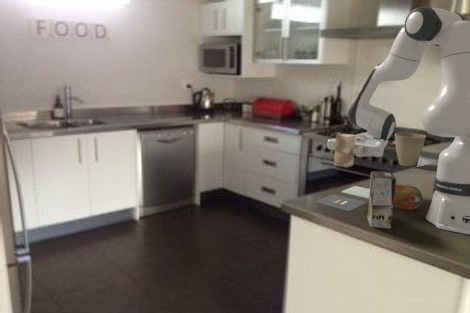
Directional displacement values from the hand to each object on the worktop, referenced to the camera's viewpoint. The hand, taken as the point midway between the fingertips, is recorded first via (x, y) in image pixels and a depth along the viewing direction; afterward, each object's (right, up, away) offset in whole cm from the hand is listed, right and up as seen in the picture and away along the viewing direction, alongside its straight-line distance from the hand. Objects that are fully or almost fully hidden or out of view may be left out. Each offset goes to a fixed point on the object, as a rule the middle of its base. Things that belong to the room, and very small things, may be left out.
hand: (344, 149), depth 147 cm
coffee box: (+7, -24, -15) cm, 29 cm away
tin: (+20, -21, +1) cm, 29 cm away
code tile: (0, -19, +4) cm, 20 cm away
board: (+12, -17, +16) cm, 26 cm away
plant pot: (+51, -7, +69) cm, 86 cm away
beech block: (0, -6, +2) cm, 6 cm away
